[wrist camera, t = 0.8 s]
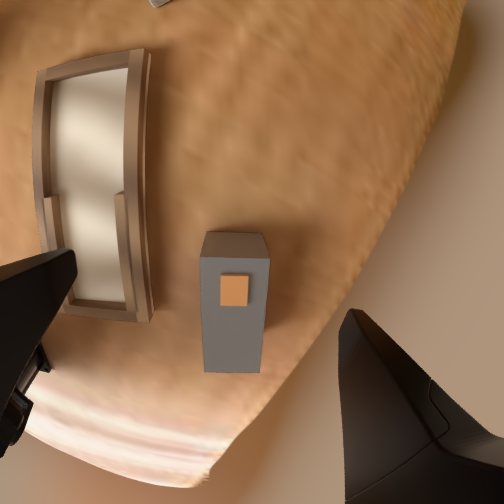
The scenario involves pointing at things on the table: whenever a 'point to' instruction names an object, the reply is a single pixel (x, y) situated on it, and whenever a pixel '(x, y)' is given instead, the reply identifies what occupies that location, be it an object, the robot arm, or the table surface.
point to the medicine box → (157, 2)
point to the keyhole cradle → (95, 180)
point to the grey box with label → (233, 300)
